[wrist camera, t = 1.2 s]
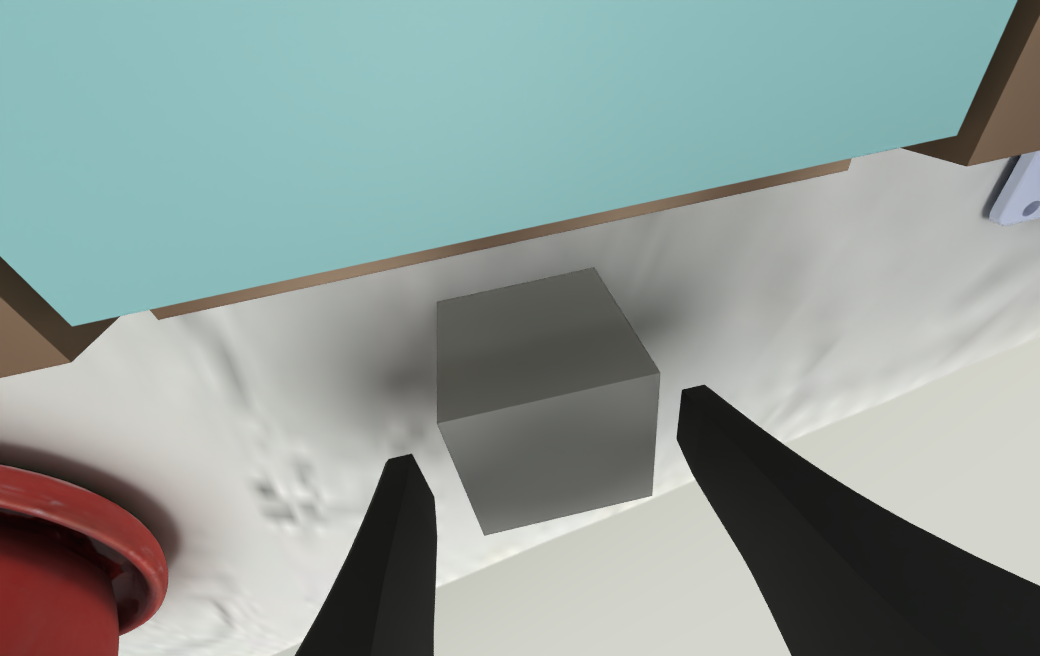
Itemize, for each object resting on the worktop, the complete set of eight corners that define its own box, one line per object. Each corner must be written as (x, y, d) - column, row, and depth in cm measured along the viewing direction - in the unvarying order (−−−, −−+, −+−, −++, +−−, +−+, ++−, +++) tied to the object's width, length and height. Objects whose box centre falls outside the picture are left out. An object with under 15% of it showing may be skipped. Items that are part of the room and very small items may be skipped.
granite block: (593, 266, 13) (660, 372, 9) (599, 378, 16) (651, 495, 12) (436, 300, 13) (436, 423, 9) (472, 407, 16) (484, 535, 12)
